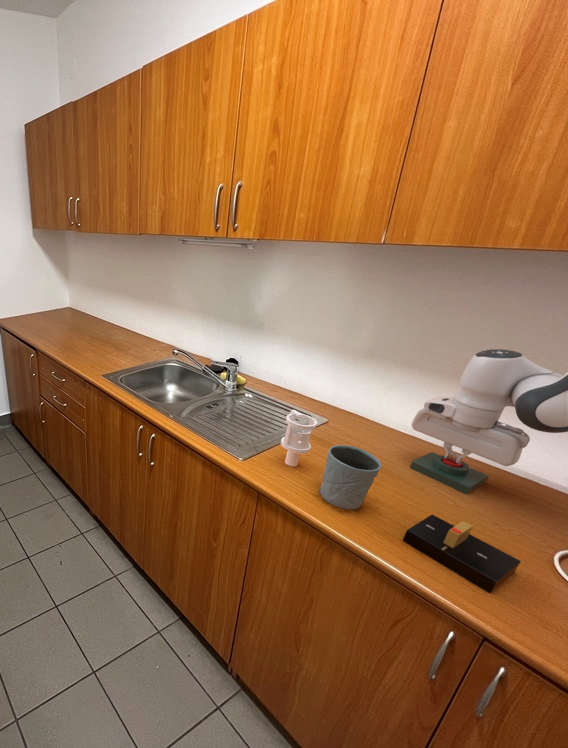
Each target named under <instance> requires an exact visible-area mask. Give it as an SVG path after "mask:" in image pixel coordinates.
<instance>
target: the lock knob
mask: <svg viewBox="0 0 568 748" xmlns="http://www.w3.org/2000/svg"><path fill="white" fill-rule="evenodd" d="M453 526H454V527H453V528H451V529H450V530H449V532H448V534H447V536H446V538H445V540H444V542H443V543H444V544H446V545H448V546H449V547H451V548H454V547H456V546H457V545H459V544H460V543H462V542H463V541H464V540H466V539H467V538H468V536H469V534H470V533H471V531H472V529H473V527H474V525H473V524H470V523H469V522H467V521H465V520H462V521H461V522H459V523H458V524H456V525H453ZM470 535H471V534H470Z"/></svg>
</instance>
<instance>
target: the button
mask: <svg viewBox="0 0 568 748" xmlns="http://www.w3.org/2000/svg"><path fill="white" fill-rule="evenodd" d="M442 462H443V463H445V464H447V465H449V466H452V467H457V468H461V466H462V462H461V463H459V464H457V463H455V462H453V461H450V460H448V459H445V458H443V461H442Z"/></svg>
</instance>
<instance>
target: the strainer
mask: <svg viewBox="0 0 568 748" xmlns="http://www.w3.org/2000/svg"><path fill="white" fill-rule="evenodd" d="M296 419H303V420H306V421H308V423H307V424H300V423H299V422H297V421H296ZM285 422H286V424H287V427H286V430H285V435H284V436H283V437H282V438H281V440H280V446H281V447H282V448H283V449H285V450H286V451H287V452H286V456H285V460H284V464H285V465H287V466H289V467H293V468H294V467H297V466H298V463H299V459H300V456H301V455H303V454H304V455H305V454H308V453H310V452H311V448H312V445H311V443H310V440H311V435H312V432H313V430H315V429H316V428H317V425H318V421H317V419H316V418H314V417H313V416H310V415H307V414H304V413H301V412H300V411H298V410H296V409H291V410H290V413H289V414H287V415H286V417H285Z"/></svg>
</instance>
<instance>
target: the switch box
mask: <svg viewBox="0 0 568 748" xmlns="http://www.w3.org/2000/svg"><path fill="white" fill-rule="evenodd" d="M444 457H445V455H442V454H438V453H437V452H433V451H430V452H429V453H427V454H425V455H423V456H420V457H418V458H416V459H415V460H412V461H411V464H410V466H409V469H410V470H412V471H415V472H417V473H420V474H421V475H423V476H426V477H428V478H430V479H431V480H434V481H437V482H439V483H441V484H443V485H445V486H447V487H450V488H451V489H454V490H456V491H458V492H459V493H462V494H465V495H468V494H470V493H471V492H473V491H475V490H476V489H478V488H480V487H481V486H482V485H484V484H486V483H487V481H488V479H489V477H490V475H489V474H487V473H484V472H482V471H479V470H477V469H474V468H471V467H470V465H469V464H468V463H466V462H464V461H463V460H462V461H461V462H462V466H461V468H457V467H452V466H449V465H447V464H445V463H443V462H442V461H443V458H444Z"/></svg>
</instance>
